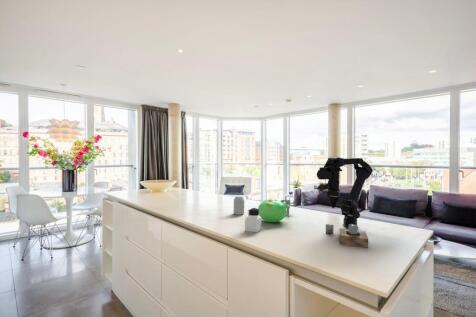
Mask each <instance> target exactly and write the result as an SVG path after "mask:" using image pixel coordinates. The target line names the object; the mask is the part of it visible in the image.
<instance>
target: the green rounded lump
mask: <svg viewBox="0 0 476 317" xmlns="http://www.w3.org/2000/svg"><path fill="white" fill-rule="evenodd" d="M290 205H291V204H290ZM290 205H284V204H283V203H282V202H281V200H278V199H275V198H274V197H270V198H268V199H266V200H263V201H262V202H261V203H260V204H258V207H257V209H259V217H261V220H262V221H265V222H268V223H278V222H281V221H282V220H284V219H285V217H286V215H287V208H289V207H290V208H291V206H290ZM290 208H289V209H290Z"/></svg>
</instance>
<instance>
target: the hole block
mask: <svg viewBox="0 0 476 317" xmlns="http://www.w3.org/2000/svg"><path fill="white" fill-rule="evenodd" d="M348 229H349V228H348ZM348 229H345V228H339V238H338V239H339V244H340V245H346V246H353V247H359V248H360V247H361V248H369V236H368V235H367V232H366V231H364V230H362V231H361V230H358V233H357V236H356V235H348Z"/></svg>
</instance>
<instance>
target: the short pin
mask: <svg viewBox="0 0 476 317" xmlns="http://www.w3.org/2000/svg"><path fill="white" fill-rule="evenodd" d="M334 228H335V227H334V224H332V223H325V234H326V235H334Z"/></svg>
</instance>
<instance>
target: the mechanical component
mask: <svg viewBox="0 0 476 317" xmlns="http://www.w3.org/2000/svg"><path fill="white" fill-rule="evenodd" d="M280 201H281V202H282V203H283V204H284V205H290V207H289V208H287V209H286V210H287V213H286V215H290V209H291V207H294V206H295V204H296V200H293V201H292V202H291V200H290V199H281V200H280Z"/></svg>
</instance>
